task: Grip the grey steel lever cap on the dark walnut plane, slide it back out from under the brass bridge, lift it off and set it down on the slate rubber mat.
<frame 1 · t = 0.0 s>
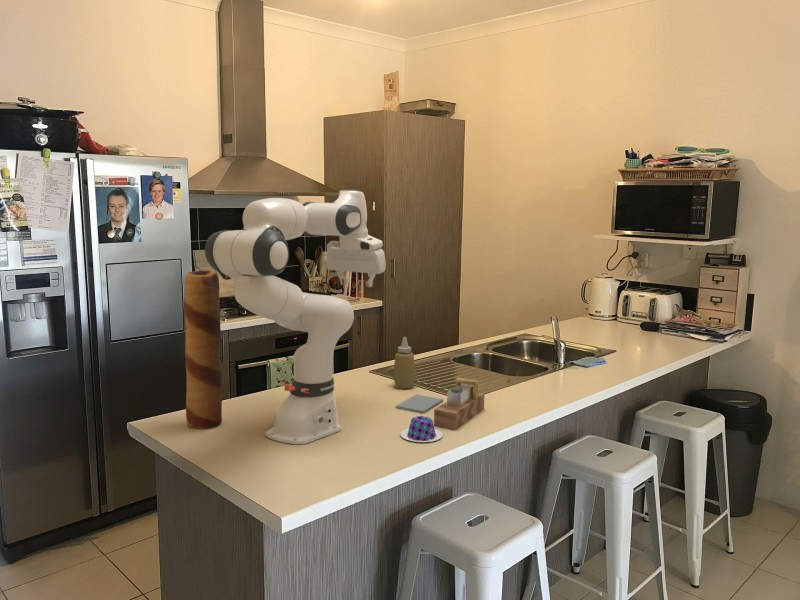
hand: (356, 285, 206), 39 cm above the worktop, tool pointing down, fingers open, 8 cm apart
plane body: (460, 416, 201), on the worktop
wafer roll: (206, 424, 192), on the worktop
lever cap: (460, 401, 200), point 5 cm above the worktop, touching plane body
squeeze bottle: (404, 387, 231), on the worktop
pudding: (421, 437, 185), on the worktop
rubber mat: (419, 404, 212), on the worktop
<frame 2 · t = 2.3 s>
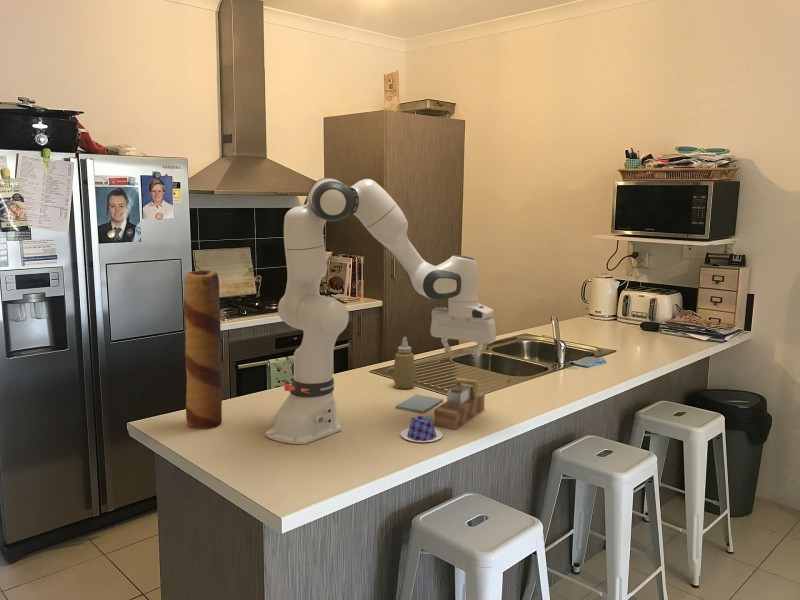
hand: (462, 354, 198), 20 cm above the worktop, tool pointing down, fingers open, 8 cm apart
nothing on the worktop moved.
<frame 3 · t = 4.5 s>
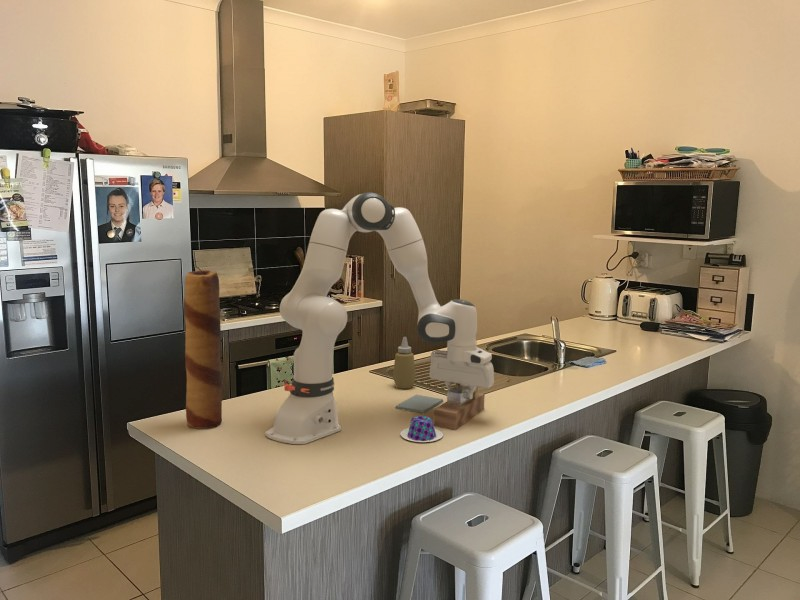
hand: (460, 397, 200), 6 cm above the worktop, tool pointing down, fingers closed on lever cap, 4 cm apart
lever cap: (460, 401, 200), point 5 cm above the worktop, touching gripper, plane body
everything else where it was.
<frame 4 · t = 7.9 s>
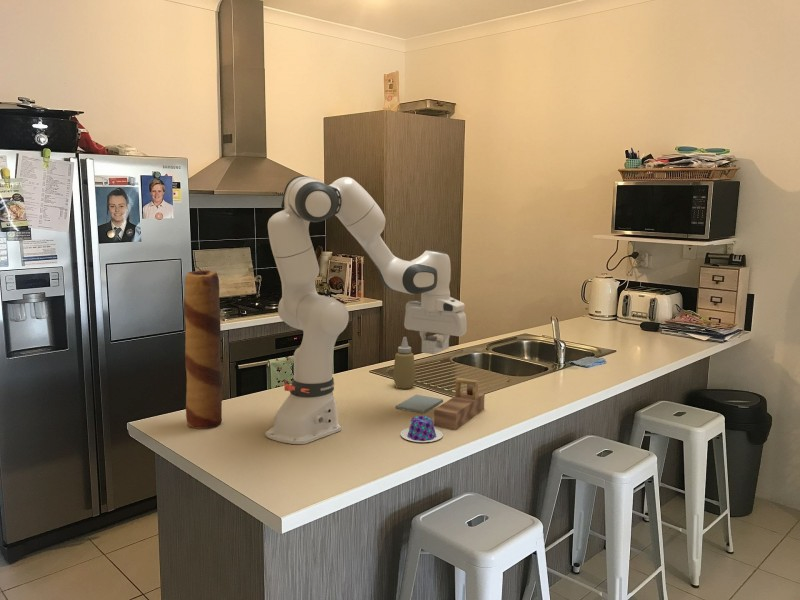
hand: (434, 346, 203), 21 cm above the worktop, tool pointing down, fingers closed on lever cap, 4 cm apart
lever cap: (435, 350, 204), point 19 cm above the worktop, touching gripper
everything else where it was.
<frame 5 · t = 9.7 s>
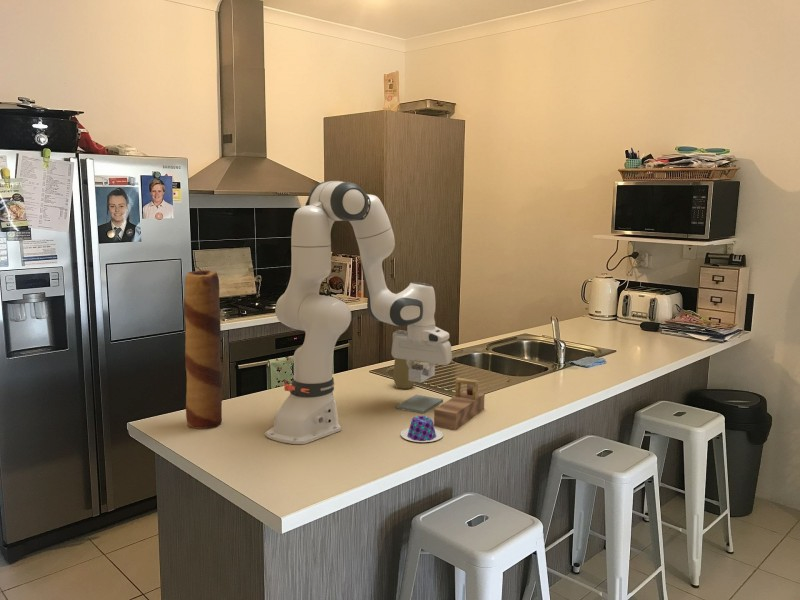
hand: (420, 374, 210), 10 cm above the worktop, tool pointing down, fingers closed on lever cap, 4 cm apart
lever cap: (421, 377, 211), point 9 cm above the worktop, touching gripper
everything else where it was.
when the fingers open (3 cm above the worktop, at t = 11.4 s): lever cap stays where it is, resting on rubber mat.
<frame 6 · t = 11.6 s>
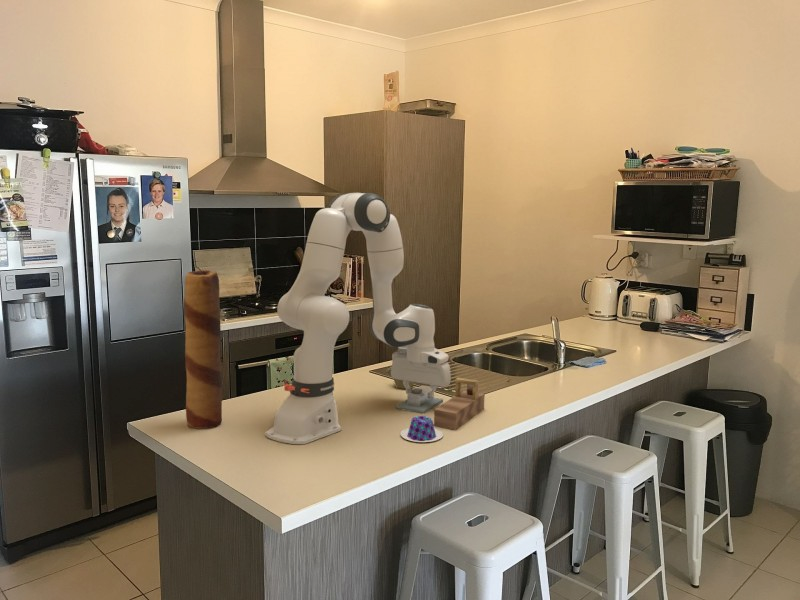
hand: (419, 395, 211), 3 cm above the worktop, tool pointing down, fingers open, 6 cm apart
lever cap: (420, 401, 212), point 1 cm above the worktop, touching rubber mat
everything else where it was.
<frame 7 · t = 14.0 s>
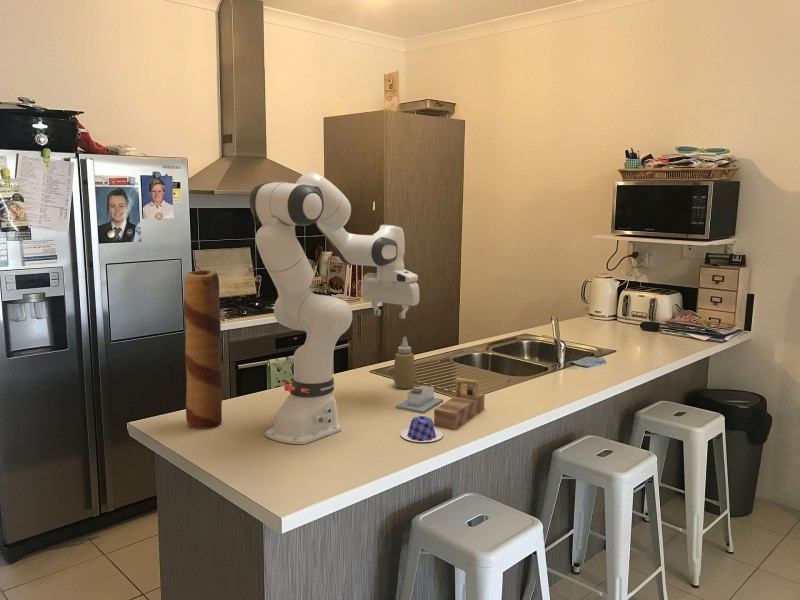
hand: (389, 316, 214), 28 cm above the worktop, tool pointing down, fingers open, 8 cm apart
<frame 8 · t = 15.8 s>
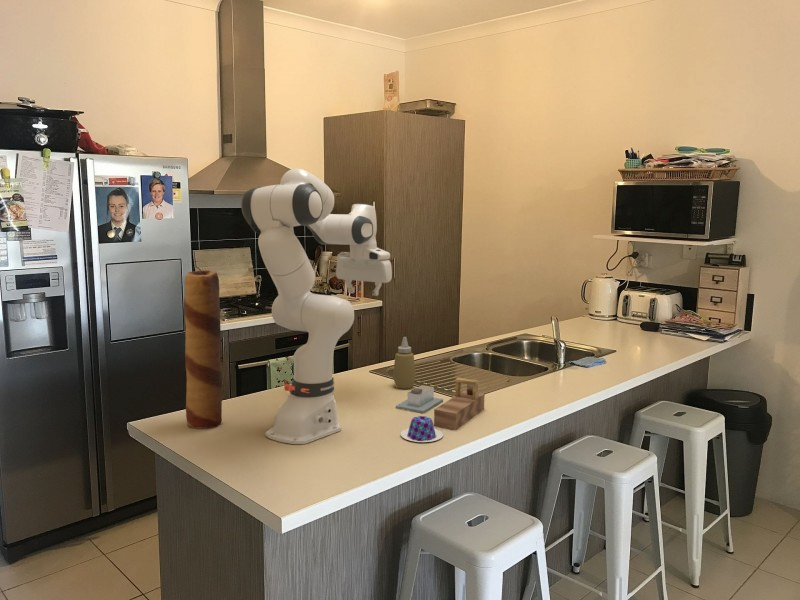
hand: (363, 294, 219), 34 cm above the worktop, tool pointing down, fingers open, 8 cm apart
at the end: lever cap inside the target area (0.8 cm from its centre), point 0.8 cm above the worktop; lever cap touching rubber mat; lever cap tilted 0° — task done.
